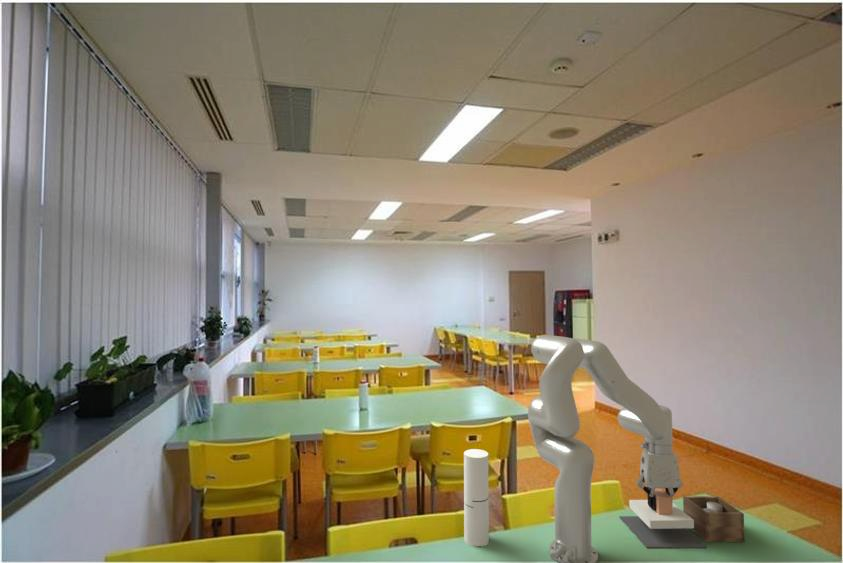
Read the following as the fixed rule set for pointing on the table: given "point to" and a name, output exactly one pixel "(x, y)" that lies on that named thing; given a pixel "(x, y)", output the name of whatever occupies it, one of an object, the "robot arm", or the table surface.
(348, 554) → the table surface
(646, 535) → the mat
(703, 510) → the box
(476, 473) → the cylindrical container
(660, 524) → the lid
